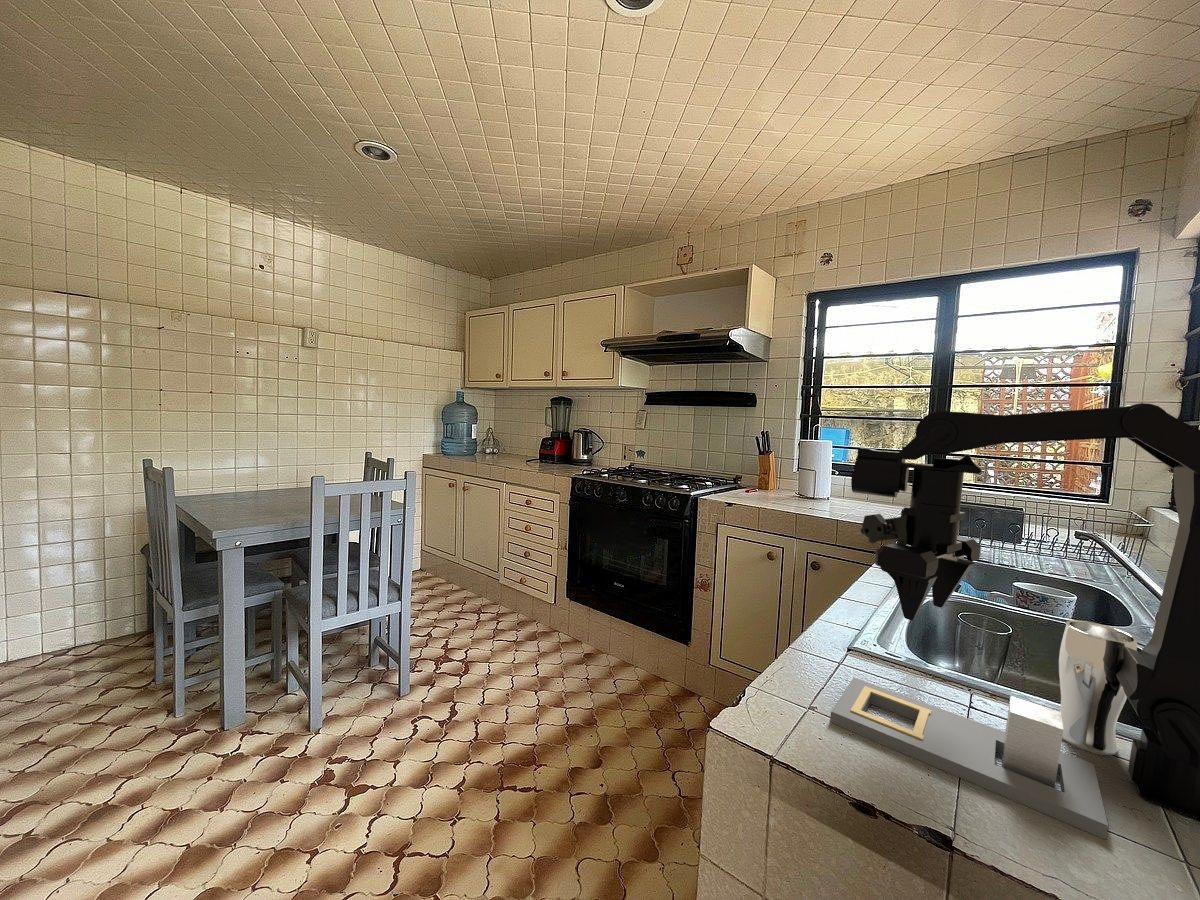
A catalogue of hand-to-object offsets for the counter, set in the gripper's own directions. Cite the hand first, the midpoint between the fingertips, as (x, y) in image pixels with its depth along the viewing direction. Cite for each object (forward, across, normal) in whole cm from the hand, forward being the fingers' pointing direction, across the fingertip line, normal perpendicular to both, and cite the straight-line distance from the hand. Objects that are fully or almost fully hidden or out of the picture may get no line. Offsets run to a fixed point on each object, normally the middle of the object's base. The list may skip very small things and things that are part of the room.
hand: (923, 612), depth 70 cm
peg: (+14, +3, +13) cm, 20 cm away
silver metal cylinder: (+14, -13, +15) cm, 25 cm away
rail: (+14, +5, +7) cm, 16 cm away
